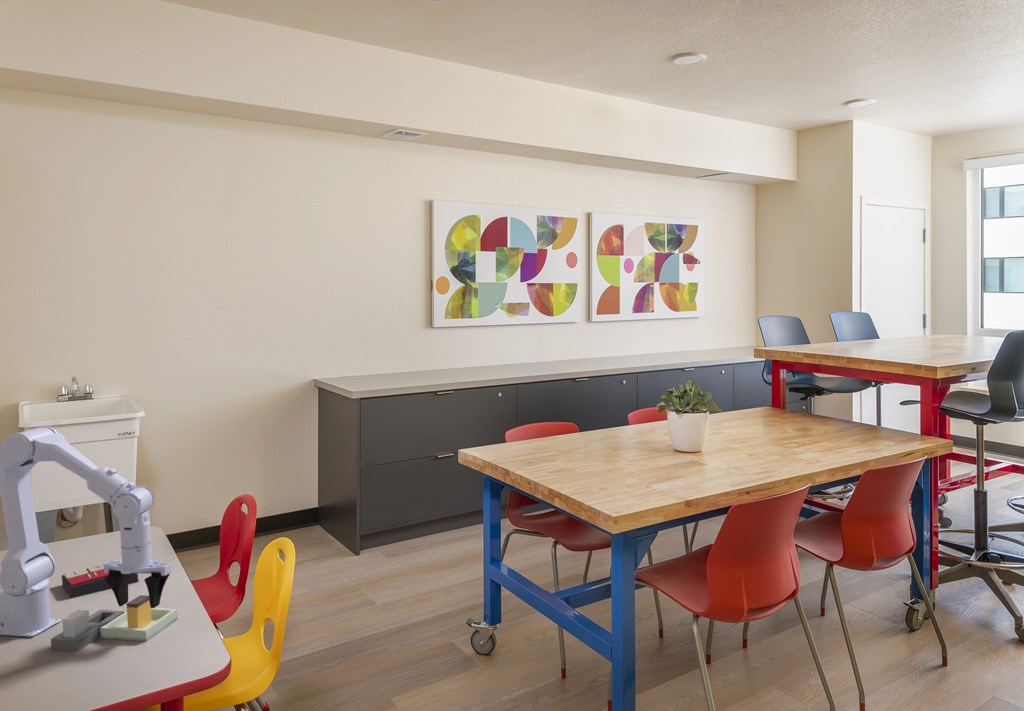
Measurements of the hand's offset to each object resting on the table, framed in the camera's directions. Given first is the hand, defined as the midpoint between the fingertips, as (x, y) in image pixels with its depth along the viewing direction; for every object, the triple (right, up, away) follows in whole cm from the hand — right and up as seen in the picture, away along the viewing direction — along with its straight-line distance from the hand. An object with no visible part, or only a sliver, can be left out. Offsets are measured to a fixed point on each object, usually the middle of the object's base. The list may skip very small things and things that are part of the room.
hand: (139, 605), depth 154 cm
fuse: (-10, -6, -6) cm, 13 cm away
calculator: (-24, -4, +26) cm, 35 cm away
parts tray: (0, -5, 0) cm, 5 cm away
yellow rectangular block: (0, -5, 0) cm, 5 cm away
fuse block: (-9, -6, -2) cm, 11 cm away
